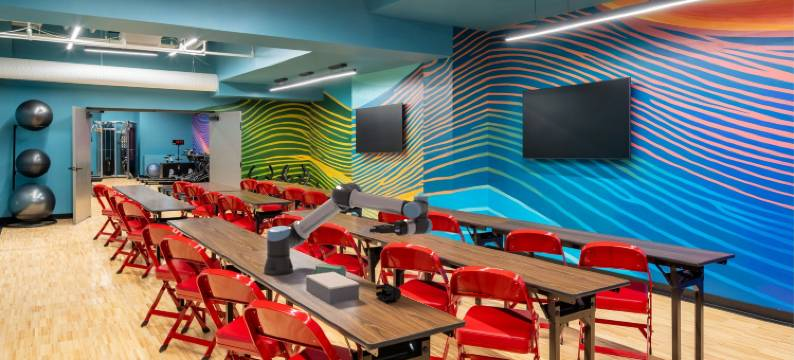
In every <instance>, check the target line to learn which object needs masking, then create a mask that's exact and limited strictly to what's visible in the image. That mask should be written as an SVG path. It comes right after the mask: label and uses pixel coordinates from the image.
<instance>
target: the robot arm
mask: <svg viewBox="0 0 794 360" xmlns="http://www.w3.org/2000/svg"><path fill="white" fill-rule="evenodd" d="M355 207H357V208H360V209H367V210H373V211H377V212H383V213H388V214H394V215H398V216H403V217H406V218H408V219H402V220H396V221H395V222H394V223H389V224H386V223H384V224H380V225H372V226H367V227H361V234H363V235H364V234H368V235H369V234H374V235H375V234H381V235H382V234H395V235H396V236H398V237H401V236H403V237H404V236H407V237H410V235H411V236H412V235H425V234H429V233H430V232H432V230H433V222H432V220H431V219H429V196H427V195H417V194H416V195H414V196H413V200H412V201H411V200H406V199H400V198H395V197H390V196H384V195H379V194H373V193H369V192H368V193H367V192H364V190H363V188H362V187H361V186H360V185H359V184H357V183H355V182H347V183H340V184H338V185H336V186H334V188H333V189H332V192H331V197H330V198H329V199H328V200H326V201H325V202H324V203H322V204H321V205H320V206H318V207H317V208H315V209H314V210H313V211H312V212H310V213H309V214H308V215H306V216H305V217H304V218H302V219H301V220H295V221H294V222H293V223H292V222H291V224H289V225H288V226H286V225H278V226H273V227H270V228H268V230H267V232H266V252H267V253H266V260H265V263H264V266H263V274H265V275H270V276H282V275H283V276H284V275H289V274H292V273H294V266H293V262H292V258H291V249H293V248H296V247H299V246H302V245H303V244H304V243H305V242H306V240H308V238H309V237H310V234H311V233H313V232H314V231H315V230H317V229H318V228H319V227H321V226H322V225H323V224H325V223H326V222H327V221H329V220H330V219H332V218H333V217H335V215H337V214H338V213H339V212H346V211H347V210H349V209H354V208H355Z"/></svg>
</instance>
